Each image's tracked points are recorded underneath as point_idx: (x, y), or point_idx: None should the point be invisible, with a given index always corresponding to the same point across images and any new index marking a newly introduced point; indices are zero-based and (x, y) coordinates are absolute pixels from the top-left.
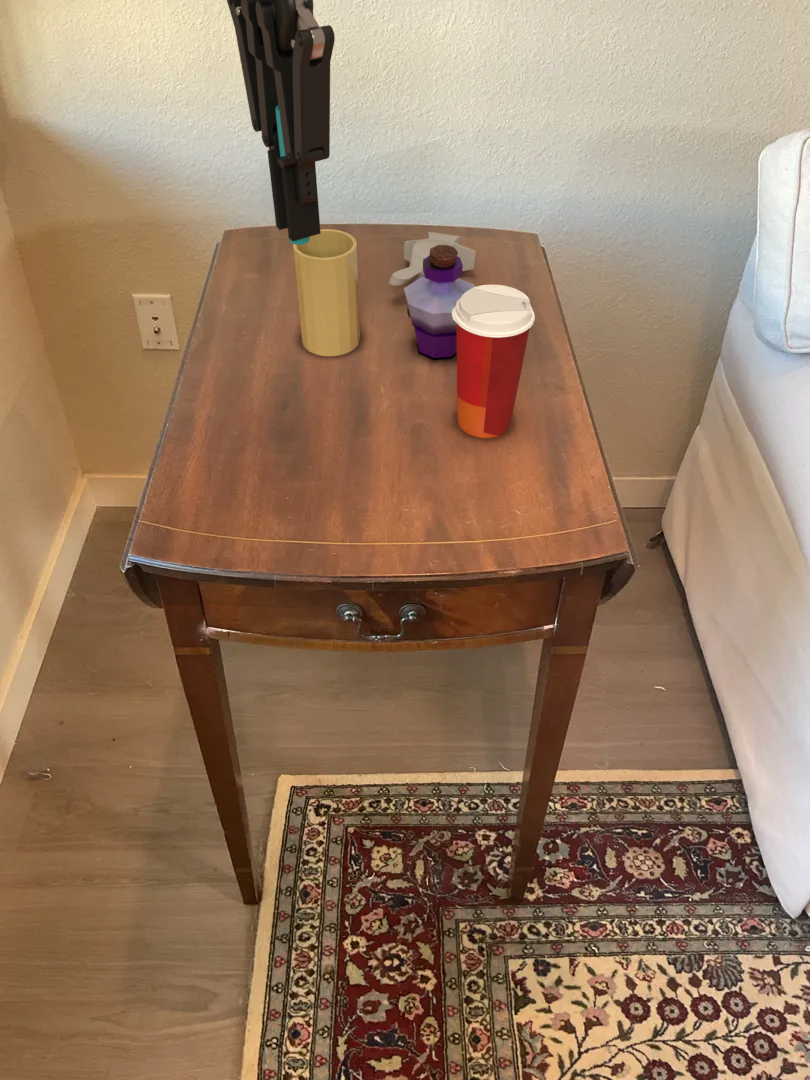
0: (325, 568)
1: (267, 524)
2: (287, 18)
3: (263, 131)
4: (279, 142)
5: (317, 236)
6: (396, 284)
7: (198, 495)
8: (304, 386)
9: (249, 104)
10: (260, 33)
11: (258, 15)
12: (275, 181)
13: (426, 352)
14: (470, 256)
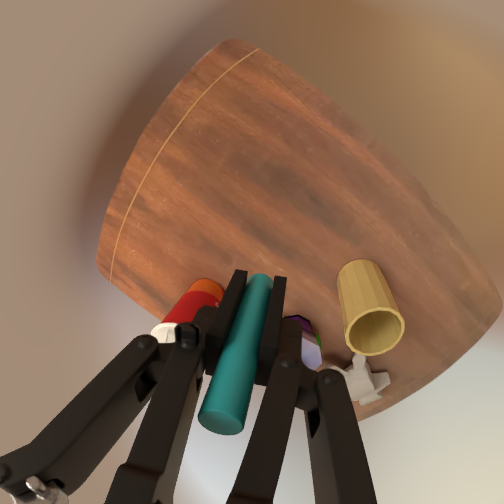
0: (150, 130)
1: (202, 116)
2: None
3: (291, 372)
4: (235, 365)
5: (395, 336)
6: None
7: (259, 89)
8: (325, 227)
9: (347, 404)
10: None
11: None
12: (266, 316)
13: (291, 318)
14: None
